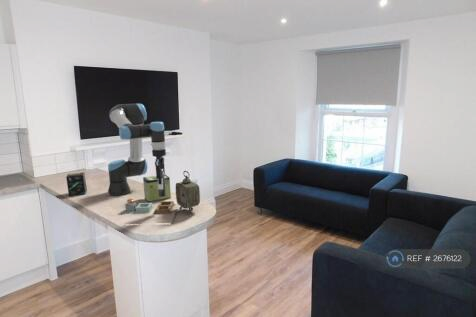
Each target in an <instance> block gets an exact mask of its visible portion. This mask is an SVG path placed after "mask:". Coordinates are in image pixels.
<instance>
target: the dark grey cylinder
mask: <svg viewBox="0 0 476 317" xmlns="http://www.w3.org/2000/svg"><path fill="white" fill-rule="evenodd" d="M162 178H163V189H158V191H159V197H164V196H166V192H165V178H164V172H163V169H162Z"/></svg>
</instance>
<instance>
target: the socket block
mask: <svg viewBox="0 0 476 317" xmlns="http://www.w3.org/2000/svg"><path fill="white" fill-rule="evenodd" d="M154 208H155V205H153V202H139V203H138V204H137V202H135V201H134V202H133V205H128V203H127V202H126V204H125V212H124V215H136V214H137V215H139V214H142V215H143V214H147V215H148V214H151V213H152V210H153V209H154Z"/></svg>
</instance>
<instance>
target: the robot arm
mask: <svg viewBox="0 0 476 317" xmlns="http://www.w3.org/2000/svg"><path fill="white" fill-rule="evenodd" d="M146 110H147V109H146V107H145V106H144V104H142V103H123V104H122V103H120V104H116V105H115V106H113V107H112V108H111V109H110V111H109V114H108V115H109V119H110V120H111V122H112V123H113V124H115V125H116V126H117V128H118V135H119V138H120V140H127V141H128V140H129V156H128V157H127V161H126V160H125V159H116V160H112V161H110V162H109V163H108V165H107V168H108V169H107V171H108V177H109V186H108V189H107V193H108V196H109V195H110V196H123V195H126V194H129V193H131V187H130V185H129V183H128V180H127V178H131V177H137V176H139V177H140V176H143V175H145V174H146V173H147V172H148V161H147V159H146V158H145V157H144V155H143V138H144V139H145V138H151V139H150V140H151V143H150V145H151V149H152V150H151V152H152V156H153V157H156V158H155V162H154V165H155V166H154V167H155V176H156V179H158V189H163V178H162V169H163V172H164V176H165V175H167V174H166V171H165V156H166V155H167V150H166V139H165V135H166V134H165V124H164V122H163V121H152V122H150V123H147V124H145V121H147V118H148V116H147V111H146Z"/></svg>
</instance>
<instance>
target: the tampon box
mask: <svg viewBox="0 0 476 317" xmlns="http://www.w3.org/2000/svg"><path fill="white" fill-rule="evenodd" d="M65 178H66V185H67V192H68V196H69V197H73V196H74V197H75V196H81V195H86V194H87V192H88V190H87V182H86V174H85V171H84V172H76V173H75V172H73V173H68V174H67V175H66V176H65Z"/></svg>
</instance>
